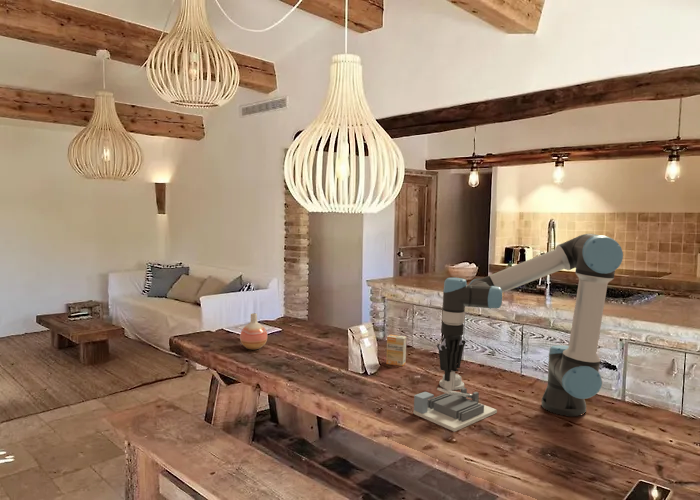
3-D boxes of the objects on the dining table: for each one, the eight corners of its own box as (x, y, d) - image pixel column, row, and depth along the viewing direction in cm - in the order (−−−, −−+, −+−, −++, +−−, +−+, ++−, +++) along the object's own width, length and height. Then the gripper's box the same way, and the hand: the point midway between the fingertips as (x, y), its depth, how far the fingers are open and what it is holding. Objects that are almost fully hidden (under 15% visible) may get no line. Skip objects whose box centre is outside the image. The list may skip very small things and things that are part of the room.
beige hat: (439, 389, 203) (464, 391, 201) (439, 378, 203) (464, 380, 201) (439, 381, 213) (463, 383, 211) (439, 370, 213) (464, 372, 211)
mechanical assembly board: (496, 412, 181) (497, 395, 180) (454, 431, 165) (455, 412, 164) (456, 397, 194) (456, 381, 194) (413, 413, 179) (413, 396, 178)
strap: (475, 399, 183) (476, 396, 183) (448, 395, 172) (449, 390, 172) (464, 395, 187) (465, 392, 187) (436, 390, 176) (437, 386, 176)
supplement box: (385, 364, 233) (386, 336, 232) (389, 361, 238) (389, 334, 236) (403, 366, 230) (403, 338, 229) (406, 363, 235) (406, 336, 233)
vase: (273, 347, 258) (273, 313, 256) (254, 353, 246) (254, 318, 245) (253, 342, 265) (253, 309, 263) (234, 349, 254) (234, 314, 252)
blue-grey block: (433, 409, 179) (433, 394, 179) (422, 413, 176) (422, 398, 175) (424, 405, 182) (425, 391, 182) (413, 410, 179) (414, 395, 178)
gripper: (456, 318, 182) (452, 382, 184) (431, 322, 173) (428, 389, 175) (473, 322, 176) (469, 388, 178) (449, 327, 167) (445, 396, 169)
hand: (449, 389), depth 177 cm, fingers closed
